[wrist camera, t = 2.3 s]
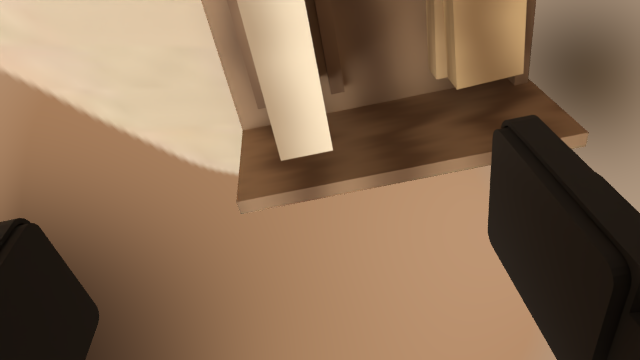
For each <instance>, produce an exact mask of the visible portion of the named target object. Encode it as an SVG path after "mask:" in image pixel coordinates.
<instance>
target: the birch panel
mask: <svg viewBox="0 0 640 360" xmlns="http://www.w3.org/2000/svg"><path fill="white" fill-rule="evenodd" d="M237 3H238V7H239V10H240V14H241V17H242V21H243V25H244V28H245V32H246V36H247V39H248V43H249V47H250V50H251V54H252V57H253V61H254V65H255V68H256V72H257V76H258V79H259V83H260V86H261V90H262V94H263V97H264V101H265V105H266V108H267V112H268V116H269V119H270V123H271V126H272V130H273V134H274V137H275V141H276V145H277V148H278V152H279V155H280V159H281V161H283V160H288V159H293V158H298V157H303V156H308V155H313V154H318V153H323V152H328V151H333V147H332V142H331V137H330V132H329V127H328V121H327V116H326V111H325V106H324V100H323V95H322V90H321V85H320V79H319V74H318V69H317V64H316V58H315V53H314V48H313V43H312V37H311V32H310V27H309V22H308V16H307V11H306V6H305V1H304V0H237Z"/></svg>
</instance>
